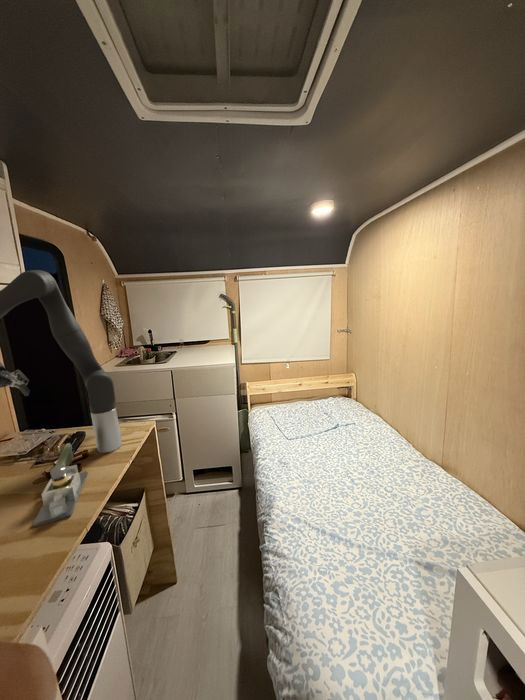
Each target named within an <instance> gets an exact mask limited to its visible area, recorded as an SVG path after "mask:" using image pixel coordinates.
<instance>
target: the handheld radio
mask: <svg viewBox="0 0 525 700" xmlns="http://www.w3.org/2000/svg"><path fill="white" fill-rule="evenodd" d="M72 449H73V446H72V444H71V443H70V442H69V443H66V444H65V445H64V446H63V448H62V450H61V453H60V455H59V457H58V459H57V461H56V463H55V465H54V467H56V466H60V465H65V466H66V467H68V466H69V464H70V463H71V461H72V459H73V460H74V453H73V452H72ZM72 462H73V461H72ZM71 464H72V463H71Z"/></svg>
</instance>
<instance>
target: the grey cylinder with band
mask: <svg viewBox="0 0 525 700" xmlns="http://www.w3.org/2000/svg"><path fill="white" fill-rule="evenodd" d="M49 473H50V477H51V478H50V479H52V483H53V487H54V490H55V489H59V488H63V487H68V486H70V485H69V480H68V476H67V471H66V466H65V465H60V466H56V467H55V466H54V467H53V468H51V469H50V470H49Z"/></svg>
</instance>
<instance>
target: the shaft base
mask: <svg viewBox="0 0 525 700" xmlns="http://www.w3.org/2000/svg"><path fill="white" fill-rule="evenodd" d="M66 471H67V476H68V480H69V485H70V486H68V487H63V488H59V489H55V490H54V487H53V483H52V478H50V480H49V481H48V482H47V484H46V487H45V488H44V490H43V491H42V493H41V497H42V498H41V500H42V503H43V504H42V507H40V510H39V511H38V513H37V515H36V517H35V518H34V520H33V523H32V526H33V527H34V528H35V527H38V526H41V525H45V524H49V523H52V522H56V521H59V520H64V519H67V518H71V517H72V514H73V512H74V510H75V507H76V504H77V502H78V499H79V498H80V494H81V492H82V489H83V487H84V485H85V481H86V479H87V477H88V474H89V473H88V470H87V471H82V472H81V471H80V472H79V470H78V464H73V465H72V464H71V466H68V467H66Z"/></svg>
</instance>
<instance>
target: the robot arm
mask: <svg viewBox="0 0 525 700" xmlns="http://www.w3.org/2000/svg"><path fill="white" fill-rule="evenodd" d="M33 299H38V301H39V302H40V303H41V304H42V306H43V307H44V308H43V309H45V312H46V313H47V317H48V323H49V327H50V331H51V334H52V336H53V338H54V339H55V341H56V343H57V344H58V346H59V347H60V349H61V350H62V351H63V352H64V353H65V355H66V356H67V358H68V359H70V361H71V362H72V363H73V364H74V366H75V367H76V369H77V370H78V372H79V374H80V376H81V378H82V381H83V383H84V385H85V388H86V392H87V395H88V397H87V398H88V403H89V411H90V416H91V420H92V421H91V422H92V428H93V434H94V439H95V444H96V450H97V452H98V453H100V454H101V453H102V454H106V453H111V452H114V451H116V450H117V449H119V448H120V447H122V444H123V443H122V442H123V440H122V433H121V428H120V422H119V419H118V418H119V417H118V412H117V406H116V393H115V387H114V386H115V385H114V382H113V379H112V377H111V376H110V375H109V374H108V373H107V372H106V371H105V370H104V368H103V367H102V366H101V365H100V363H99V361H98V360H97V358H96V357H95V355H94V352H93V349H92V346H91V344H90V342H89V340H88V338H87V336H86V334H85V332H84V331H83V329H82V327H81V325H80V323H78V321H77V319H76V318H75V316H74V314H73V312H72V311H71V309H70V308H69V307H68V305H67V303H66V301H65V299H64V297H63V295H62V292H61V290H60V288H59V285H58V283H57V280H56V279H55V278H54V276H52V274H50V273H49V272H48V271H45V270H40V269H32V270H25V271H23V272H21V273H20V274H18V276H16V277H15V278H14V279H13V280H12V281H11V282H10V283H8V284H7V285H6V286H5V287H3V289H1V290H0V319H2V318H3V317H4V316H6V315H7V314H8V313H9V312H10V311H11V310H13V309H14V308H15V307H17V306H19V305H21V304H22V303H25V302H28V301H30V300H33ZM29 382H30V379H29V378H28V377H27V376H26V375H25V374H24V373H23V372H22V371H21V370H20V369H16V370H15V371H13V372H10V371H8V370H7V368H6V367H5V366H4V364H3V363H2V362H1V361H0V389H1V388H6V387H11V388H14V387H15V388H17V389H19V390H18V391H20V392H21V394H23V395H24V397H28V396H29V395H30V392H31V389H29V387H28V386H27V385H28V383H29Z"/></svg>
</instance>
